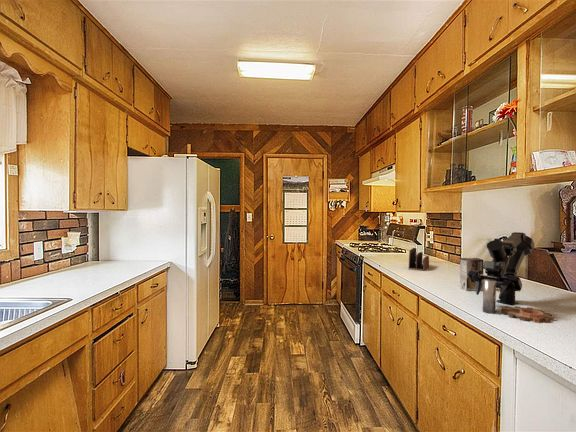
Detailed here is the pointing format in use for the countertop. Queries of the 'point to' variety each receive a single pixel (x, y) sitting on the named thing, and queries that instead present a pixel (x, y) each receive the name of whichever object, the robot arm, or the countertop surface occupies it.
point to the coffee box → (465, 267)
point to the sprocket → (527, 314)
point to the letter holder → (417, 261)
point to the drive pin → (489, 296)
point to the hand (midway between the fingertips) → (488, 296)
